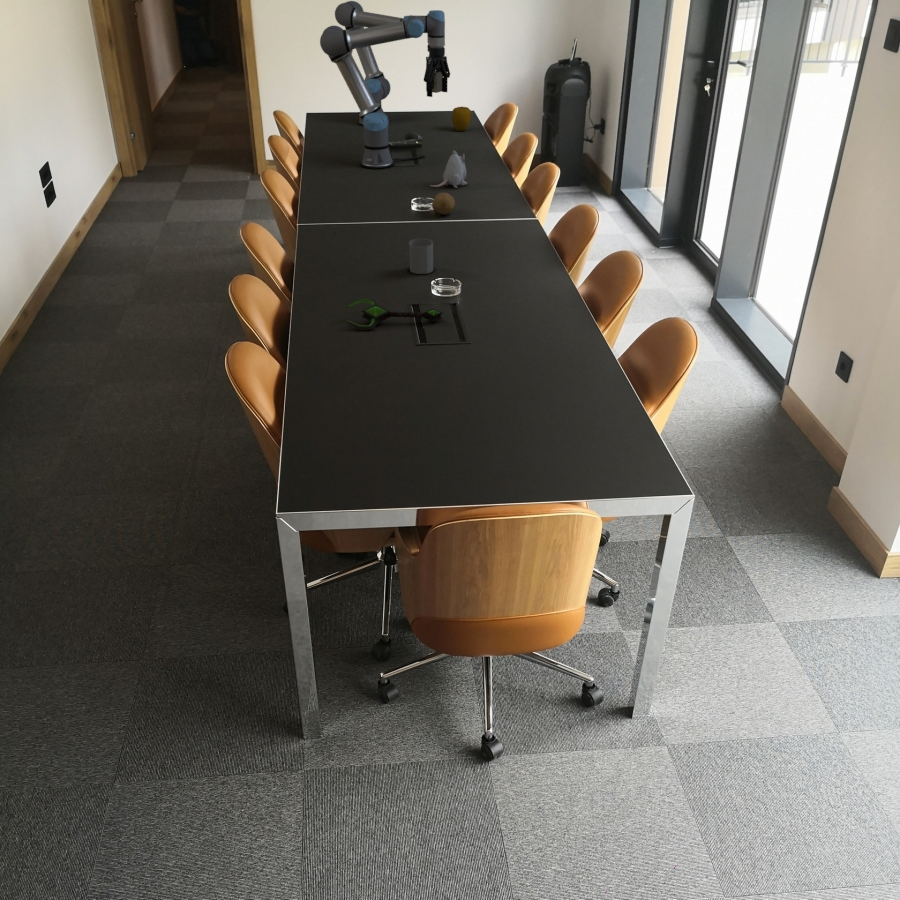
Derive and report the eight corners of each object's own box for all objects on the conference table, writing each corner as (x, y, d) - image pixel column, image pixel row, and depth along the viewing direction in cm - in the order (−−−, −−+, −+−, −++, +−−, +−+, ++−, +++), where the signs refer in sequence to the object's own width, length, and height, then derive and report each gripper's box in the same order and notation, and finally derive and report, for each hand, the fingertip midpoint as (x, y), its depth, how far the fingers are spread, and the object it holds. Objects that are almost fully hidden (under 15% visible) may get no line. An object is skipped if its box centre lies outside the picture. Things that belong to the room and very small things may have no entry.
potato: (453, 208, 369) (453, 189, 365) (456, 218, 357) (456, 199, 353) (431, 208, 368) (430, 189, 364) (432, 218, 356) (432, 199, 352)
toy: (472, 184, 399) (472, 151, 391) (436, 195, 384) (436, 161, 376) (457, 180, 404) (458, 147, 396) (422, 191, 389) (421, 157, 381)
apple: (471, 132, 486) (471, 108, 479) (451, 132, 486) (451, 108, 479) (470, 128, 495) (471, 104, 488) (452, 128, 495) (452, 104, 488)
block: (432, 89, 504) (432, 70, 498) (443, 91, 500) (443, 71, 495) (426, 91, 499) (425, 71, 493) (436, 92, 496) (436, 72, 490)
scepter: (442, 294, 271) (346, 291, 269) (443, 324, 264) (344, 322, 262) (441, 307, 276) (346, 304, 274) (442, 337, 269) (345, 335, 267)
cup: (409, 265, 311) (408, 238, 306) (432, 265, 312) (431, 238, 307) (410, 274, 304) (409, 246, 299) (433, 273, 305) (433, 246, 299)
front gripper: (444, 43, 423) (444, 89, 435) (415, 49, 405) (416, 97, 417) (457, 44, 420) (457, 90, 431) (429, 50, 402) (429, 99, 413)
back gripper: (438, 41, 495) (438, 84, 507) (418, 45, 481) (419, 89, 494) (449, 42, 492) (449, 85, 504) (430, 46, 478) (430, 91, 490)
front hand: (437, 94), depth 424 cm, fingers open, 13 cm apart
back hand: (434, 87), depth 499 cm, fingers closed on block, 7 cm apart
